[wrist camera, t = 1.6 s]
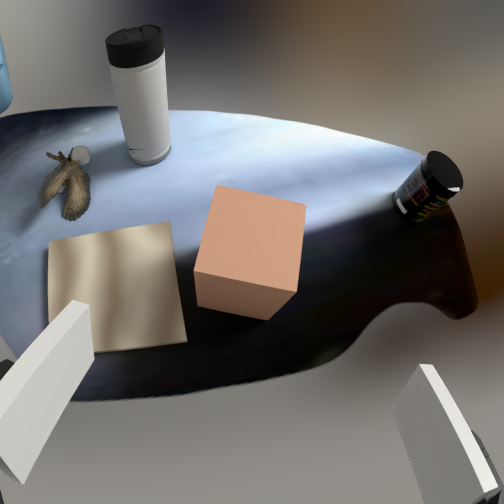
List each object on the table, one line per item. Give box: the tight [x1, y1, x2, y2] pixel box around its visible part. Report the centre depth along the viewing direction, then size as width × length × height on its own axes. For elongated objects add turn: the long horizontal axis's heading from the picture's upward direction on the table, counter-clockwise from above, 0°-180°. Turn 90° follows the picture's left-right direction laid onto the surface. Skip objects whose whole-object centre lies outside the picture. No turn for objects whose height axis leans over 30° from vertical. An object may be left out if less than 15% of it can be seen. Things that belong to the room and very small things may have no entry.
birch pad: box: [48, 221, 188, 353], centre depth 33 cm, size 16×14×2 cm
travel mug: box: [105, 24, 171, 165], centre depth 33 cm, size 6×7×20 cm
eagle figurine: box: [38, 146, 91, 221], centre depth 35 cm, size 8×7×9 cm
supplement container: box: [393, 151, 463, 225], centre depth 40 cm, size 7×7×10 cm
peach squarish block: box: [194, 185, 306, 320], centre depth 31 cm, size 8×8×12 cm
